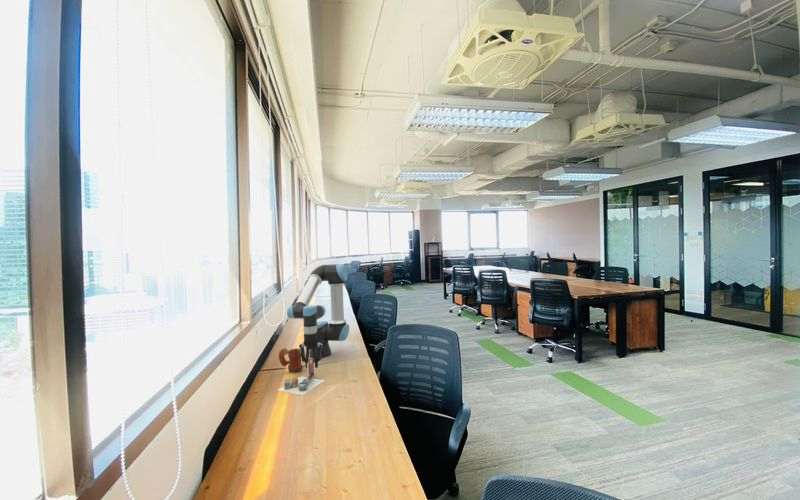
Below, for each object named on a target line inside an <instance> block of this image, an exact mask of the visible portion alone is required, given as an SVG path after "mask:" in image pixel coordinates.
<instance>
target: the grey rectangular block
mask: <svg viewBox="0 0 800 500" xmlns="http://www.w3.org/2000/svg"><path fill="white" fill-rule="evenodd" d="M291 380H292V379H291V378H287V379H284V383H283V384H284V387H285V390H286V389H291Z"/></svg>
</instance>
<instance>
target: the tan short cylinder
mask: <svg viewBox="0 0 800 500" xmlns="http://www.w3.org/2000/svg"><path fill="white" fill-rule="evenodd" d="M291 387H292V388H296V387H298V379H297V378H292V379H291Z"/></svg>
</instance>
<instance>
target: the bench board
mask: <svg viewBox="0 0 800 500" xmlns="http://www.w3.org/2000/svg"><path fill="white" fill-rule="evenodd" d="M307 377H308V376H302V375H301V376H299V377H298V378H297V379H298V387H296V388H292V387H291V389H286V390H285V387H284V386H281V387H280V388H278V389H277V391H281V392H285V393H290V394H296V395H301V396H303V395H305V394H306V393H307V394H308V392H309V391H311V390H312V389H314V388H316V387H318V386H319V385H321V384H322V383H323V382H325V381H326V380H325V379H319V378H315V377H313V379H312V380H311V381H310V382H309V383H308V384H307V388H306V389H302V390H301V389H299V383H302V381H303V380H304V378H306V379H307Z"/></svg>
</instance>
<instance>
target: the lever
mask: <svg viewBox="0 0 800 500" xmlns="http://www.w3.org/2000/svg"><path fill="white" fill-rule="evenodd" d="M314 362H315V361H314V358H309V374H308V376H306V377H307V379H306V378H304V380H303V381H302V383H299V389H301V390H302V389H306V388H307V384H308V383H309V382H310V381H311V380H312V379H313V378H315V375H316V374H314V365H313V363H314Z"/></svg>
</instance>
